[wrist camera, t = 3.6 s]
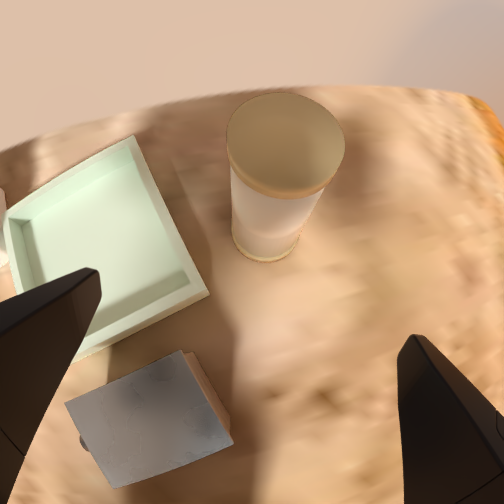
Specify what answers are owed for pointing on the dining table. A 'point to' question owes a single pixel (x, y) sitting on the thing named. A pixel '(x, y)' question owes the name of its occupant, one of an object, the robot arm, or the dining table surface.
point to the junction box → (152, 420)
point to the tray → (105, 243)
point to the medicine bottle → (0, 247)
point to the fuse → (278, 170)
